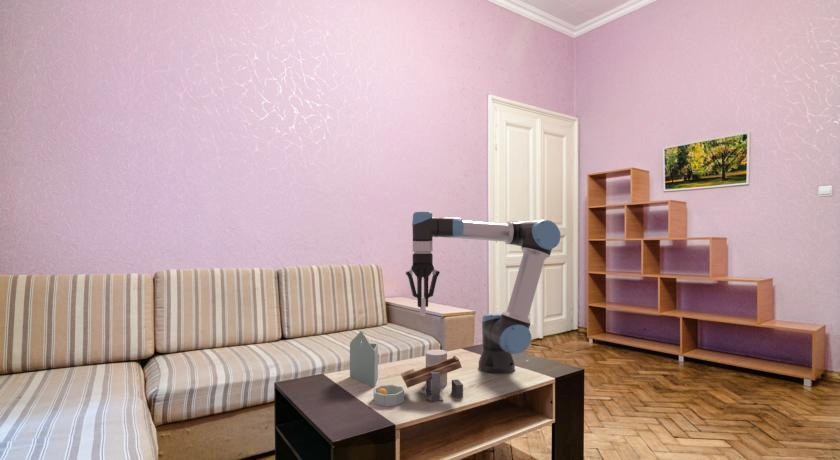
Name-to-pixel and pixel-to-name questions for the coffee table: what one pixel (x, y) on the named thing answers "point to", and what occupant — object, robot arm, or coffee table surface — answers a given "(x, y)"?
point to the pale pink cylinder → (437, 357)
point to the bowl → (389, 395)
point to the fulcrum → (433, 388)
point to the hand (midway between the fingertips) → (422, 315)
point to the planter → (364, 360)
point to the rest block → (457, 388)
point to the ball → (382, 391)
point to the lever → (425, 373)
